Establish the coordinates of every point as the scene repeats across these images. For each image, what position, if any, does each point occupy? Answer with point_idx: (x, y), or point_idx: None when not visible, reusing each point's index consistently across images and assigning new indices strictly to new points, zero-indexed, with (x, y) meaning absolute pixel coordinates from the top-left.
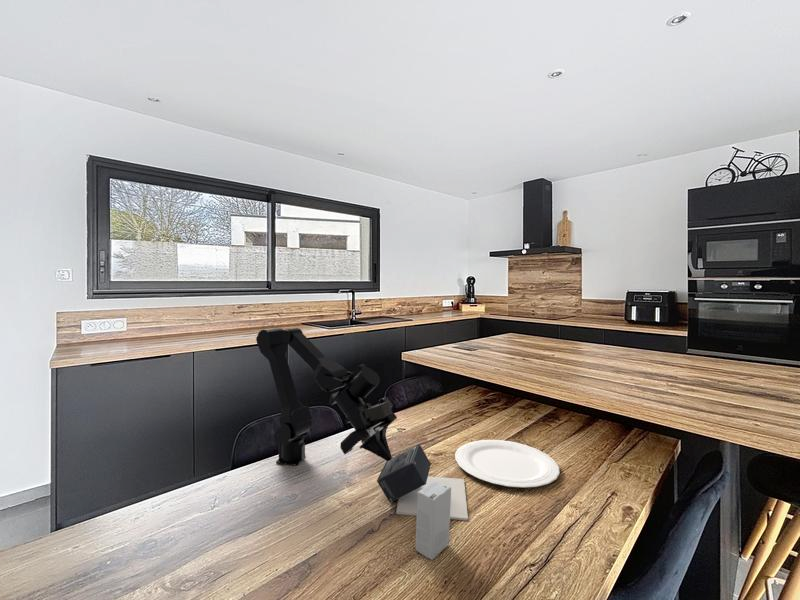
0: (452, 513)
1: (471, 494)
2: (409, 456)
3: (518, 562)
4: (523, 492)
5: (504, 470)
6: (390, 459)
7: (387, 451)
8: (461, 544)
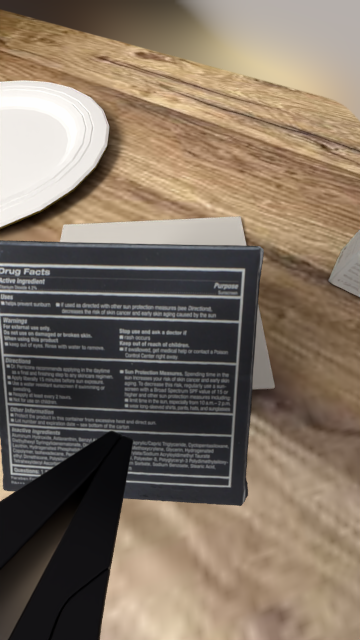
0: (231, 244)
1: (129, 214)
2: (136, 295)
3: (328, 160)
4: (110, 139)
5: (23, 154)
6: (131, 439)
7: (92, 481)
8: (325, 230)
